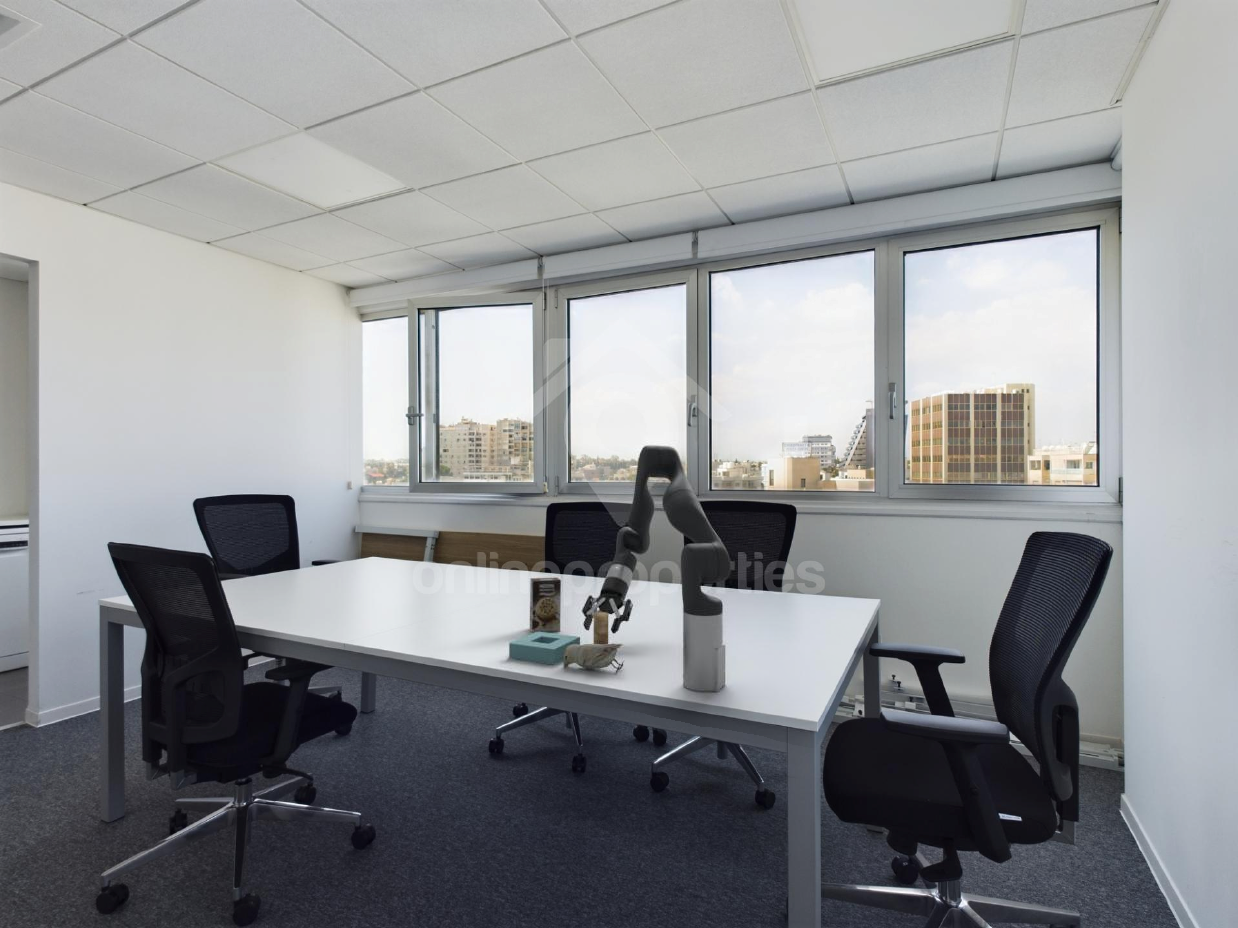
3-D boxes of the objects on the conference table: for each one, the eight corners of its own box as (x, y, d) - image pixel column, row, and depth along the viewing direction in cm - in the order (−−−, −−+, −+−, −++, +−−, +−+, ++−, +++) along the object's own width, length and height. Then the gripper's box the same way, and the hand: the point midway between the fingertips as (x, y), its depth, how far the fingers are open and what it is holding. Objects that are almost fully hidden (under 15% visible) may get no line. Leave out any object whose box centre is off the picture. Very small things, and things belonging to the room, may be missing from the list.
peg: (610, 647, 185) (610, 612, 185) (604, 651, 181) (604, 615, 181) (597, 645, 186) (597, 611, 186) (590, 649, 183) (590, 614, 183)
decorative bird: (567, 664, 169) (568, 635, 170) (626, 670, 164) (626, 641, 164) (559, 670, 164) (559, 640, 164) (619, 676, 159) (619, 646, 159)
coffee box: (532, 633, 201) (532, 581, 201) (529, 628, 207) (529, 577, 208) (561, 631, 204) (561, 579, 204) (557, 626, 210) (557, 576, 210)
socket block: (580, 651, 181) (580, 636, 181) (553, 664, 168) (553, 649, 168) (537, 645, 187) (537, 631, 187) (509, 657, 174) (509, 642, 174)
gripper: (591, 573, 194) (572, 620, 183) (635, 577, 188) (618, 625, 177) (599, 588, 199) (581, 634, 188) (642, 592, 192) (626, 640, 182)
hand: (599, 630), depth 183 cm, fingers open, 8 cm apart
